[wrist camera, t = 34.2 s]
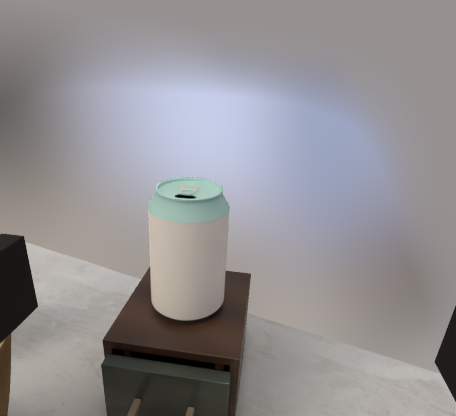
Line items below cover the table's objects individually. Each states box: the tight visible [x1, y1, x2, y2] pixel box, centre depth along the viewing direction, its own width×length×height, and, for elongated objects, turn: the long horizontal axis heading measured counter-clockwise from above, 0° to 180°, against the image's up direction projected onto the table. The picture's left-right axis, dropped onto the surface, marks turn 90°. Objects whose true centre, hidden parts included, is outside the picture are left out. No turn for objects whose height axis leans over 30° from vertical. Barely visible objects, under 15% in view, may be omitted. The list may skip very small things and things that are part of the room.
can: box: [148, 177, 229, 321], centre depth 31 cm, size 7×7×12 cm
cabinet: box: [103, 267, 251, 416], centre depth 35 cm, size 13×12×10 cm
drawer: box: [101, 350, 231, 416], centre depth 32 cm, size 16×10×8 cm, turn 172°
